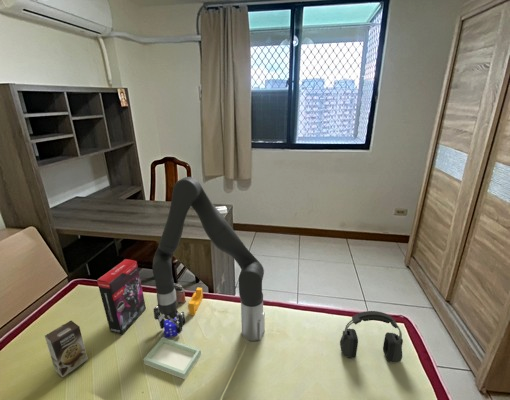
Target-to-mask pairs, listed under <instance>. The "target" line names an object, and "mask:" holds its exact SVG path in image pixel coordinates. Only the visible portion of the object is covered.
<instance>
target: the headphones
mask: <svg viewBox="0 0 510 400" xmlns="http://www.w3.org/2000/svg"><path fill="white" fill-rule="evenodd" d="M368 321H369V322H371V321H374V322H375V321H377V322H378V321H379V322H383V323H385V324H391V326H392V327H393V328H395V329H397V330H398V334H399V335H398V334H397V333H394V332H386V333H385V335H384V340H383V345H382V352H383V354H384V357H385V359H386V360H387V362H390V363H400V362H401V361H402V360H403V345H404V344H403V343H404V340H403V335H402V334H403V333H402V331H401V329H400V326H399V325H398V324H397V321H396V320H395V319H394V318H393V317H392V316H391V315H390V314H387V313H385V312H383V311H377V310H367V311H363V312H358V313H356V314H354V315H353V316H352V317H351V320H350V321H348V322H347V323H346V325H345V327H344V330H342V335H341V338H340V340H339V346H340V351H341V353H342V355H343V356H344V357H347V358H350V359H354V358H356V357H357V354H358V353H357V352H358V347H359V346H358V345H359V337H358V334H357V331H356V330H355V328H349V327H350V326H351V325H352V324H354V325H358V324H360V323H361V322H368Z"/></svg>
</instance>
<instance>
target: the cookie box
mask: <svg viewBox="0 0 510 400" xmlns="http://www.w3.org/2000/svg"><path fill="white" fill-rule="evenodd" d="M81 332H82V331H81V328H80V325H78V324H77V323H76V322H74V321H73V320H69V321H67V322H65V323H64V324H62V325H61V326H59V327H57V328H56V329H54V330H52V331H50V332H49V333H47V334H45V335H44V338H45V341H46V344H47V348H48V351H49V355H50V358H51V362H52V365H53V369H54V370H55V371H56V372H57V373H58V375H59V376H60V377H62V378H64V377H65V376H67V375H68V374H69V373H71V372H72V371H75V369H76V368H78V367H79V366H81V365H82V364H84V363H85V362H87V361H88V355H87V350H86V347H85V344H84V343H85V342H84V339H83V336H82V335H83V334H82V333H81Z"/></svg>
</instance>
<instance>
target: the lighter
mask: <svg viewBox="0 0 510 400" xmlns="http://www.w3.org/2000/svg"><path fill="white" fill-rule="evenodd" d="M174 287H175V291H176V297H177V304H180V305H184V304H186V303H187V300H186V294H185V291H186V290H185V288H183V286H182V285H181V284H180V283H175V282H174Z"/></svg>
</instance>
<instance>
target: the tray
mask: <svg viewBox="0 0 510 400" xmlns="http://www.w3.org/2000/svg"><path fill="white" fill-rule="evenodd" d="M201 355H202V350H201V349H200V348H197V347H195V346H192V345H189V344H185V343H181V342H179V341H176V340H173V339H170V338H168V337H167V338H165V336H162V337H161V338H160V339H159V341H158V342H157V343H156V344H155V345H154V346H153V347H152V348H151V350H150V351H149V352H148V353H147V354H146V355H145V356H144V358H143V363H144V365H146V366H148V367H151V368H153V369H156V370H159V371H162V372H164V373H165V374H166V373H167V374H170V375H172V376H175V377H177V378H180V379H183V380H186V378H187V377H188V376H189V374H190V372H191V371H192V369H193V368H194V366H195V364H196V363H197V362H198V360H199V358H200V357H201Z"/></svg>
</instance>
